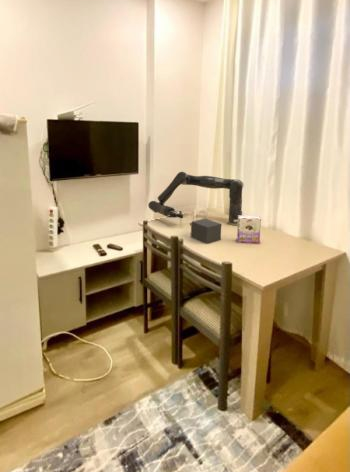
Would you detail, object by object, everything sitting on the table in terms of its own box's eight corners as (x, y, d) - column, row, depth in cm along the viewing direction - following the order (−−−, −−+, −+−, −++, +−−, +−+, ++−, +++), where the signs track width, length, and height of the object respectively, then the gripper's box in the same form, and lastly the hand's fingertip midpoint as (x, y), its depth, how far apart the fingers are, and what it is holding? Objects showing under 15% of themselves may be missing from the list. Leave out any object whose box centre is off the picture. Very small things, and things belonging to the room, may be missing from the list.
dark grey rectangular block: (191, 237, 212) (191, 221, 210) (204, 233, 220) (205, 218, 218) (206, 243, 201) (207, 227, 199) (220, 239, 209) (221, 223, 207)
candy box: (258, 240, 209) (259, 215, 206) (259, 243, 203) (261, 218, 200) (236, 239, 210) (237, 214, 207) (237, 242, 204) (238, 217, 201)
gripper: (160, 207, 236) (175, 213, 223) (174, 205, 244) (189, 210, 231) (160, 217, 237) (175, 223, 224) (174, 214, 245) (189, 220, 232)
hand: (182, 216), depth 227 cm, fingers closed
